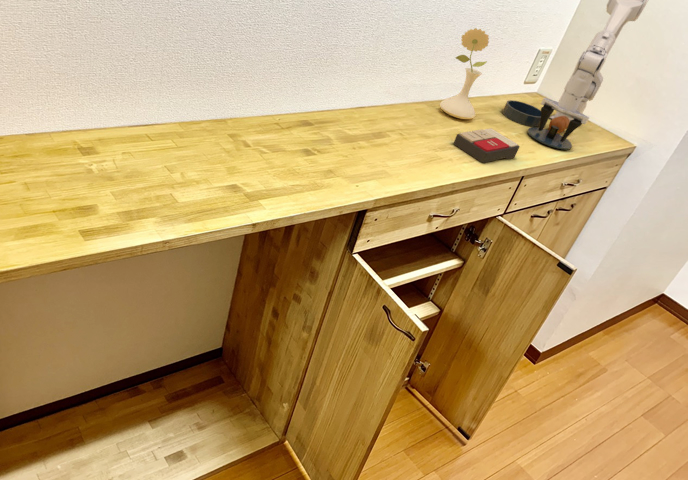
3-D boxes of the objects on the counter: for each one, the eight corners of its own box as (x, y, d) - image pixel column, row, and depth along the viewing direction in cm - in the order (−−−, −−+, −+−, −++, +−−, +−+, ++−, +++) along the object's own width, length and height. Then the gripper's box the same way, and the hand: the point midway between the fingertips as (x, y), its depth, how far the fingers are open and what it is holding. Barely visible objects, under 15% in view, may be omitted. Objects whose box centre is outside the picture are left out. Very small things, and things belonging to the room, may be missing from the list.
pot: (512, 108, 198) (517, 98, 196) (545, 124, 192) (551, 114, 190) (495, 112, 190) (500, 102, 188) (529, 129, 184) (535, 119, 182)
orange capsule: (554, 125, 193) (561, 112, 190) (567, 132, 190) (574, 118, 188) (543, 129, 187) (551, 115, 184) (557, 135, 185) (564, 122, 182)
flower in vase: (477, 118, 180) (513, 37, 165) (466, 125, 172) (503, 41, 157) (440, 102, 184) (472, 22, 169) (427, 109, 176) (460, 25, 161)
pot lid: (537, 127, 187) (544, 115, 184) (576, 147, 180) (584, 134, 177) (519, 133, 178) (526, 120, 175) (560, 154, 171) (567, 140, 168)
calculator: (457, 131, 155) (491, 125, 163) (451, 145, 158) (485, 139, 166) (487, 150, 149) (521, 143, 157) (481, 165, 151) (515, 157, 159)
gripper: (546, 85, 170) (525, 127, 179) (591, 105, 164) (567, 148, 172) (555, 83, 175) (534, 124, 183) (600, 102, 168) (575, 144, 176)
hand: (551, 135), depth 178 cm, fingers open, 7 cm apart
